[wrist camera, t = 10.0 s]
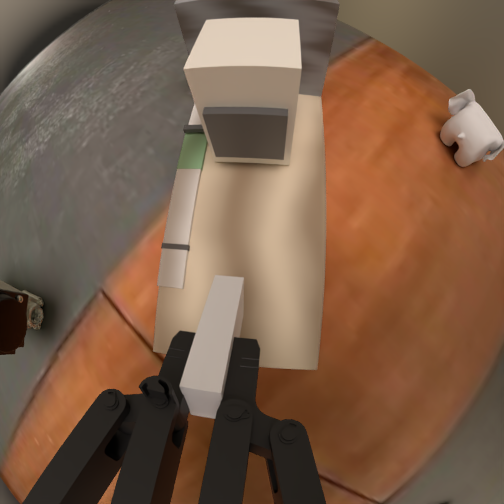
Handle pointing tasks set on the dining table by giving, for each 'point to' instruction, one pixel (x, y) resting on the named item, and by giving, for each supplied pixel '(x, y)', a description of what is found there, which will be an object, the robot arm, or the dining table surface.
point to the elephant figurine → (470, 130)
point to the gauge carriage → (246, 87)
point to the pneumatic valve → (17, 316)
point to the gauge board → (254, 208)
